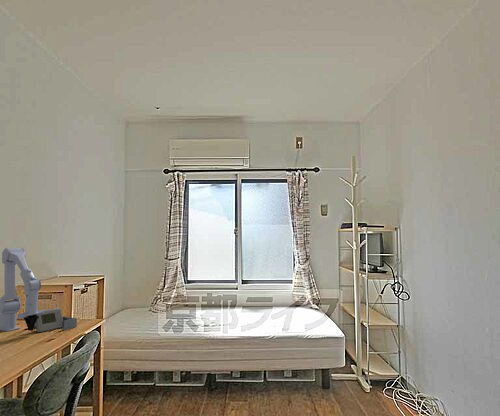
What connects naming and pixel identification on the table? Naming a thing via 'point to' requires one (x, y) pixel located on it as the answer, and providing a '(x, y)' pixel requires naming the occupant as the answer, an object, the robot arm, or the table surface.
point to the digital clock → (49, 320)
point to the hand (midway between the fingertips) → (30, 330)
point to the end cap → (69, 323)
